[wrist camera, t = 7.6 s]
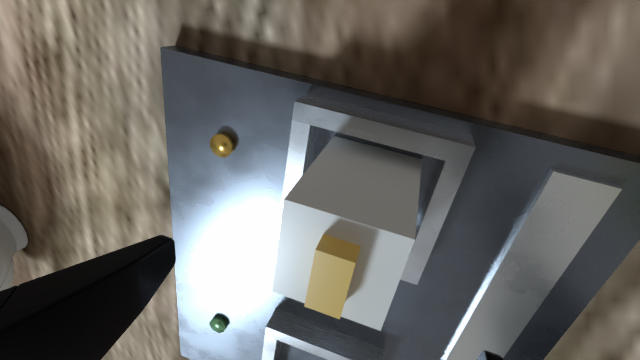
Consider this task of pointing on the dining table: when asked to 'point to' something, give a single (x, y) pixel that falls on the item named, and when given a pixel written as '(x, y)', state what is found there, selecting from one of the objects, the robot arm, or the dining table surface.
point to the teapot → (9, 245)
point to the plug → (349, 231)
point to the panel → (431, 229)
